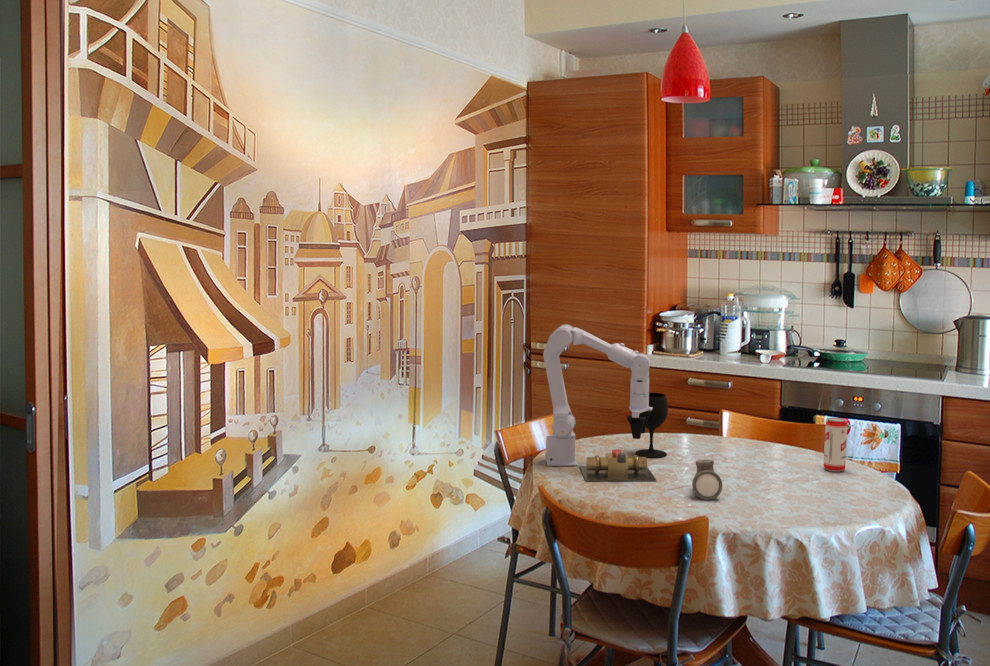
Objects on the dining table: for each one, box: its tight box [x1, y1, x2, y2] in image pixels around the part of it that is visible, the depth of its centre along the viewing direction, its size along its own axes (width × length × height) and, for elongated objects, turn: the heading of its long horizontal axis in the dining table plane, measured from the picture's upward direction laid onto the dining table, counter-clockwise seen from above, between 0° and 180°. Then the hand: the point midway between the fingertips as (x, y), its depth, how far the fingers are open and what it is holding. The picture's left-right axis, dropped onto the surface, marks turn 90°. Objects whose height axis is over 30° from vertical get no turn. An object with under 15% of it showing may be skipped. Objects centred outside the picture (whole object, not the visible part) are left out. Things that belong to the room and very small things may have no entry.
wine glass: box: [635, 391, 669, 459], centre depth 282 cm, size 10×10×20 cm
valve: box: [579, 452, 658, 483], centre depth 260 cm, size 21×16×6 cm
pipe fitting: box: [691, 459, 723, 501], centre depth 240 cm, size 12×8×10 cm
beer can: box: [823, 417, 848, 473], centre depth 263 cm, size 6×6×16 cm
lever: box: [611, 448, 627, 463], centre depth 256 cm, size 12×3×2 cm, turn 1°
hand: (638, 435), depth 266 cm, fingers open, 7 cm apart
